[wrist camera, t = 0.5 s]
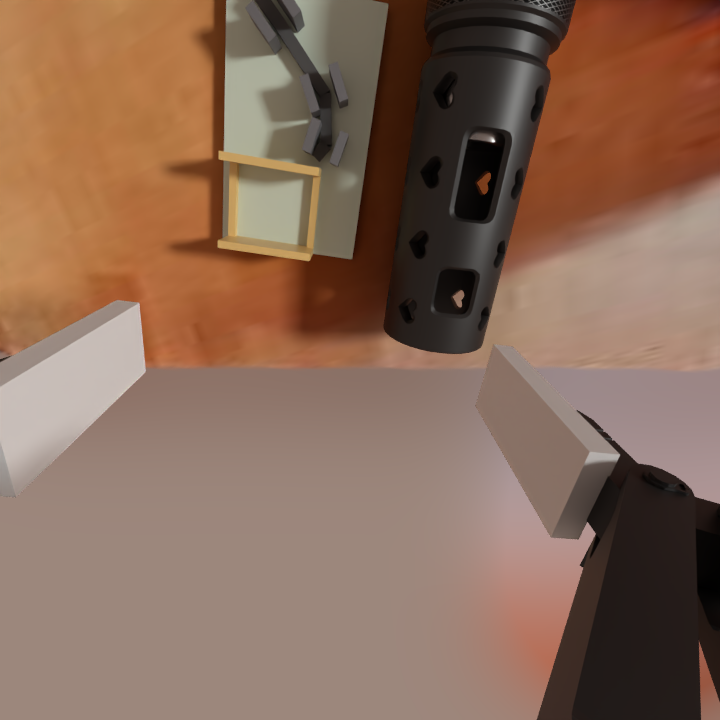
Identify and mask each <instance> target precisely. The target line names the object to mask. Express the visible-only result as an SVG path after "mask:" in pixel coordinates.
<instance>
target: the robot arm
mask: <svg viewBox="0 0 720 720" xmlns="http://www.w3.org/2000/svg"><path fill="white" fill-rule="evenodd" d="M145 372H146V370H145V359H144V349H143V338H142V327H141V316H140V305H139V303H137V302H128V301H120V300H116V301H114V302H112V303H111V304H109V305H107V306H105V307H103V308H101V309H99V310H97V311H96V312H94V313H92V314H90V315H88V316H86V317H84V318H82V319H81V320H79V321H77V322H75V323H73V324H71V325H69V326H67V327H66V328H64V329H62V330H60V331H58V332H56V333H54V334H52V335H51V336H49V337H47V338H45V339H43V340H41V341H39V342H37V343H36V344H34V345H32V346H30V347H28V348H26V349H24V350H22V351H21V352H19V353H17V354H15V355H13V356H9V357H6V358H3V359H0V496H4V497H17V496H18V495H19V494H20V493H21V492H22V491H23V490H24V489H25V488H26V487H27V486H28V485H29V484H30V483H31V482H32V481H33V480H35V479H36V478H37V477H38V476H39V475H40V474H41V473H42V472H43V471H44V470H45V469H46V468H47V467H48V466H49V465H50V464H51V463H52V462H53V461H54V460H55V459H56V458H57V457H58V456H59V455H60V454H61V453H62V452H63V451H64V450H66V449H67V447H69V445H71V444H72V443H73V442H74V441H75V440H76V439H77V438H78V437H79V436H80V435H81V434H82V433H83V432H84V431H85V430H86V429H87V428H88V427H89V426H90V425H91V424H92V423H93V422H94V421H95V420H96V419H97V418H99V417H100V416H101V415H102V414H103V413H104V412H105V411H106V410H107V409H108V408H109V407H110V406H111V405H112V404H113V403H114V402H115V401H116V400H117V399H118V398H119V397H120V396H121V395H122V394H123V393H124V392H125V391H126V390H127V389H128V388H129V387H131V385H133V384H134V383H135V382H136V381H137V379H139V378H140V377H141V376H142V375H143V374H144V373H145ZM476 408H477V409H478V411H479V413H480V414H481V416H482V418H483V420H484V422H485V423H486V425H487V427H488V429H489V430H490V432H491V434H492V436H493V437H494V439H495V441H496V443H497V444H498V446H499V448H500V449H501V451H502V453H503V455H504V457H505V458H506V460H507V462H508V463H509V465H510V467H511V469H512V470H513V472H514V474H515V476H516V477H517V479H518V481H519V483H520V484H521V486H522V488H523V490H524V491H525V493H526V495H527V497H528V498H529V500H530V502H531V504H532V505H533V507H534V509H535V510H536V512H537V514H538V516H539V517H540V519H541V521H542V523H543V525H544V526H545V528H546V530H547V532H548V533H549V535H550V537H553V538H566V539H579V537H580V535H581V533H582V531H583V529H584V527H585V525H586V523H587V522H588V523H589V524H590V526H591V527H592V528H593V530H594V531H595V533H596V535H595V537H594V539H593V541H592V543H591V545H590V547H589V549H588V551H587V552H586V554H585V557H584V559H583V560H582V562H581V564H580V566H581V567H583V571H582V574H581V577H580V581H579V584H578V587H577V590H576V594H575V597H574V600H573V604H572V607H571V610H570V613H569V617H568V620H567V623H566V626H565V630H564V633H563V636H562V639H561V643H560V646H559V649H558V652H557V656H556V659H555V663H554V666H553V669H552V672H551V675H550V679H549V682H548V685H547V689H546V692H545V695H544V698H543V701H542V705H541V708H540V711H539V715H538V718H537V720H701V703H700V668H699V642H700V645H701V648H702V651H703V654H704V657H705V659H706V663H707V665H708V668H709V671H710V674H711V677H712V680H713V683H714V686H715V689H716V692H717V695H718V698H719V701H720V504H717V503H714V502H711V501H707V500H704V499H700V498H697V497H695V496H694V494H693V492H692V490H691V489H690V488H689V487H688V486H687V485H686V484H685V483H684V482H683V481H681V480H680V479H679V478H677V477H676V476H674V475H672V474H670V473H668V472H666V471H664V470H662V469H659V468H656V467H653V466H651V465H644V464H638V463H637V462H636V461H635V460H633V458H631V456H629V454H627V453H626V452H625V451H624V450H623V449H622V448H621V447H620V446H619V445H618V444H617V443H616V442H615V441H612V438H611V437H610V436H609V435H608V434H607V433H606V432H603V429H602V428H601V427H600V426H599V425H598V424H597V423H596V422H595V421H594V420H592V419H591V418H589V417H587V416H586V415H584V414H583V413H581V412H580V411H578V410H575V409H574V408H573V407H572V406H571V405H570V404H569V403H568V402H567V401H566V400H565V399H564V398H563V397H562V396H561V395H560V394H559V393H558V392H557V391H556V390H555V389H554V388H553V387H552V386H551V385H550V384H549V383H548V382H547V381H546V380H545V379H544V378H543V377H542V376H541V375H540V374H539V373H538V372H537V371H536V370H535V369H534V368H533V367H532V366H531V365H530V364H529V363H528V362H527V361H526V360H525V359H524V358H523V357H522V356H521V355H520V353H519V352H518V351H517V350H516V349H515V348H514V347H512V346H503V345H495V344H494V345H493V348H492V351H491V355H490V358H489V362H488V365H487V368H486V372H485V375H484V379H483V382H482V385H481V389H480V392H479V396H478V399H477V402H476Z"/></svg>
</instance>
